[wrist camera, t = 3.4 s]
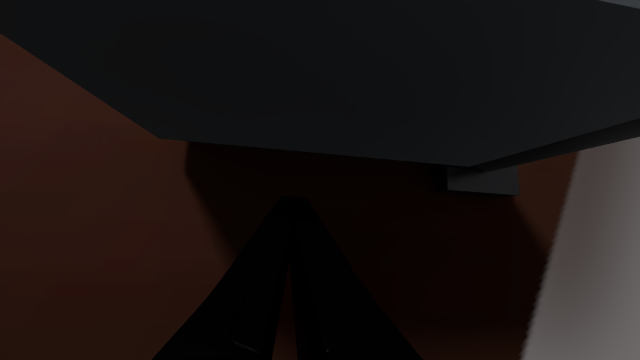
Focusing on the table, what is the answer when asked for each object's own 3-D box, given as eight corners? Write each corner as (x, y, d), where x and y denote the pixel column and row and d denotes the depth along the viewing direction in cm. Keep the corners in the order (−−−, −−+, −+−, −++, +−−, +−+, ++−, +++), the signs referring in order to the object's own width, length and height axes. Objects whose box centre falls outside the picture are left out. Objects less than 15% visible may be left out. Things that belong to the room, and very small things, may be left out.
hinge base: (503, 196, 18) (519, 195, 16) (436, 192, 17) (447, 189, 16) (498, 127, 18) (513, 121, 17) (434, 120, 18) (445, 113, 17)
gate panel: (504, 173, 16) (947, 78, 5) (158, 142, 13) (-344, -175, 3) (501, 136, 17) (909, -19, 6) (165, 99, 14) (-249, -327, 3)
